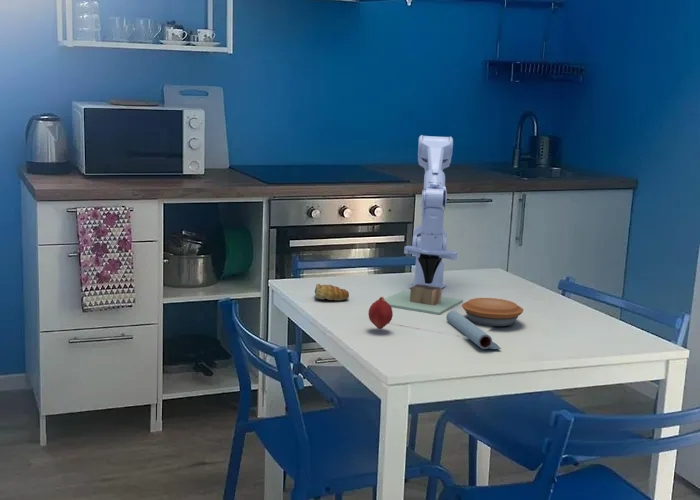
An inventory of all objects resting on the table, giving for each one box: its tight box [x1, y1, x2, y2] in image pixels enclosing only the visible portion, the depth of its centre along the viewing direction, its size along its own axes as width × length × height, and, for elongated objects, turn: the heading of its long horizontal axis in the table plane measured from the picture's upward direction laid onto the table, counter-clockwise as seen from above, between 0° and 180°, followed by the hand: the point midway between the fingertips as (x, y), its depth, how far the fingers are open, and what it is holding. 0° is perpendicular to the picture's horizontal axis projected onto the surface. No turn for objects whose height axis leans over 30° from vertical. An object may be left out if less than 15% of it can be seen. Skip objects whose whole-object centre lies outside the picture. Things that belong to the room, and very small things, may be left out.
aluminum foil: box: [445, 310, 502, 350], centre depth 212 cm, size 23×7×3 cm, turn 13°
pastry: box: [314, 283, 350, 302], centre depth 239 cm, size 9×7×4 cm
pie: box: [461, 297, 524, 327], centre depth 225 cm, size 15×16×5 cm
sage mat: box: [384, 290, 464, 315], centre depth 241 cm, size 18×18×1 cm
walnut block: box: [409, 284, 443, 305], centre depth 239 cm, size 5×4×7 cm
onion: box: [367, 296, 394, 330], centre depth 212 cm, size 6×6×8 cm
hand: (428, 282), depth 239 cm, fingers closed
